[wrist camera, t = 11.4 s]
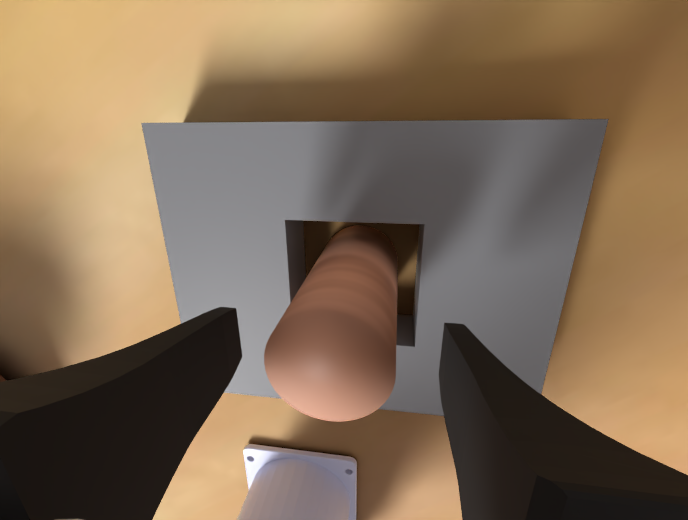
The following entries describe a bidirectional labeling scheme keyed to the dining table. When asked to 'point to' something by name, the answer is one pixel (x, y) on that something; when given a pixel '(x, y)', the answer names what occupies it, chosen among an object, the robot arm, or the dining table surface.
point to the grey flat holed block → (381, 207)
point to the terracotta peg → (340, 331)
